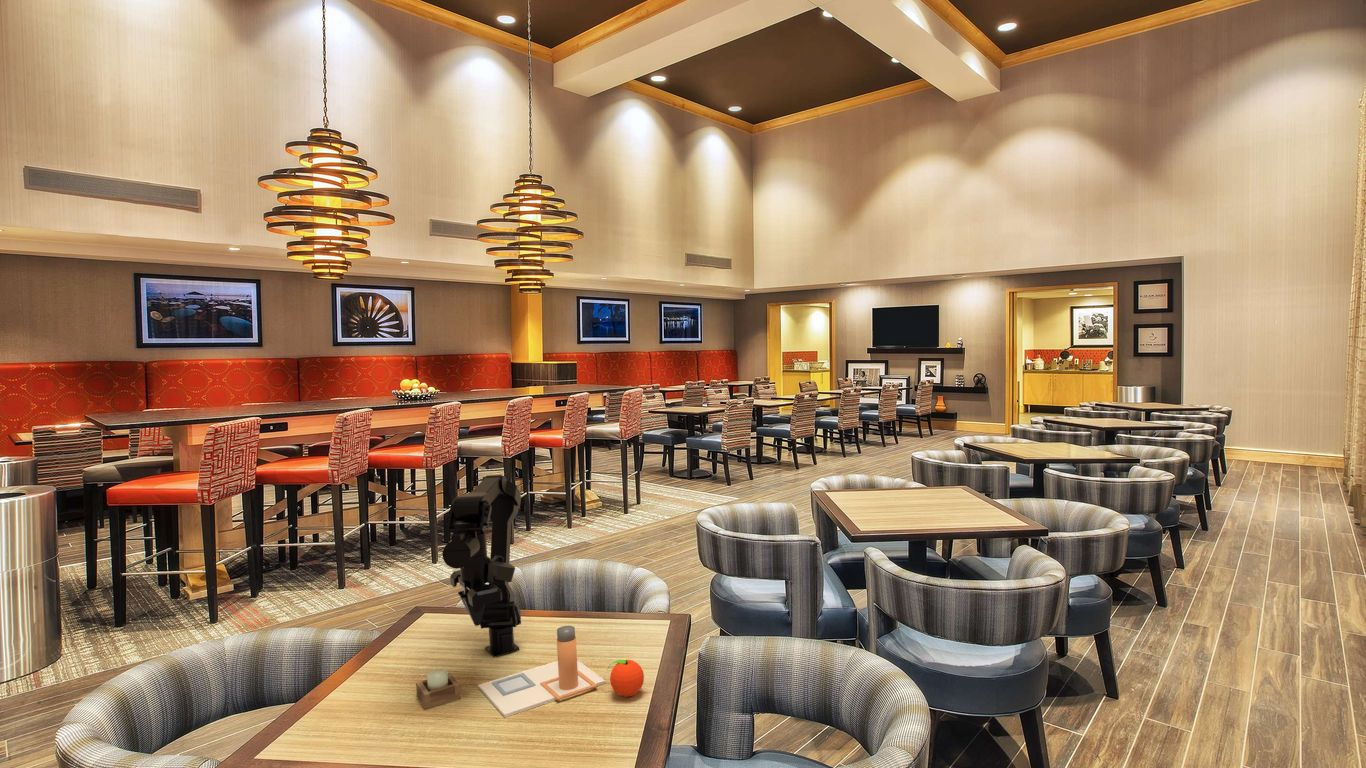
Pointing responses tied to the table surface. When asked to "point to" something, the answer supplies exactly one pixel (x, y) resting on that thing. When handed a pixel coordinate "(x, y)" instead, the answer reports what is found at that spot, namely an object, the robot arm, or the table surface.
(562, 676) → the marker
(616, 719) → the table surface
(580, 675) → the picture sheet
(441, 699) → the button base
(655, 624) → the table surface
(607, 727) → the table surface
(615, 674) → the clementine
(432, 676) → the button
